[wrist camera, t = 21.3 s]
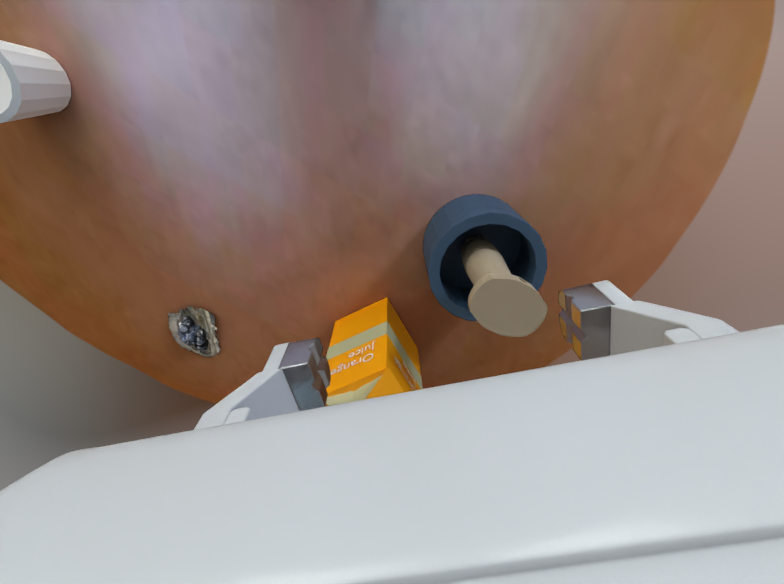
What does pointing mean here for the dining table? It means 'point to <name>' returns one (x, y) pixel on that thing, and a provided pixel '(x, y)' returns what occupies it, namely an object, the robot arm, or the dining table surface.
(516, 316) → the handle
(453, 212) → the jar
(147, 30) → the dining table surface
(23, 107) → the white ribbed cylinder
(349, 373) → the orange juice
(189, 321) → the mineral rock
